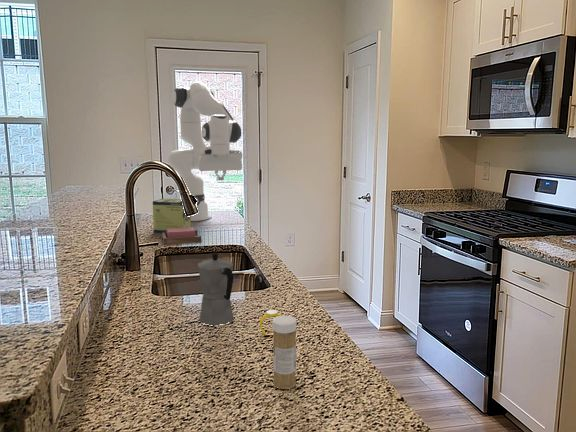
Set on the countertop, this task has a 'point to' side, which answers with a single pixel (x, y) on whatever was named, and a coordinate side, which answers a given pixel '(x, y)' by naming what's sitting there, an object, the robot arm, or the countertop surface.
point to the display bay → (181, 239)
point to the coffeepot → (216, 290)
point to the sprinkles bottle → (284, 351)
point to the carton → (180, 232)
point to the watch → (271, 314)
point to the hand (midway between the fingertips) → (220, 180)
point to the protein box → (169, 215)
